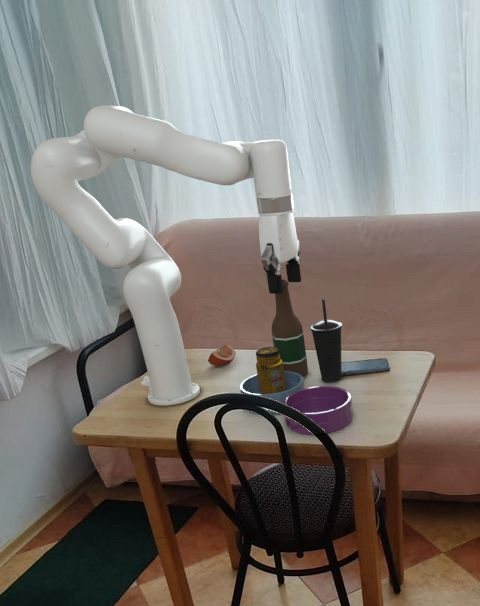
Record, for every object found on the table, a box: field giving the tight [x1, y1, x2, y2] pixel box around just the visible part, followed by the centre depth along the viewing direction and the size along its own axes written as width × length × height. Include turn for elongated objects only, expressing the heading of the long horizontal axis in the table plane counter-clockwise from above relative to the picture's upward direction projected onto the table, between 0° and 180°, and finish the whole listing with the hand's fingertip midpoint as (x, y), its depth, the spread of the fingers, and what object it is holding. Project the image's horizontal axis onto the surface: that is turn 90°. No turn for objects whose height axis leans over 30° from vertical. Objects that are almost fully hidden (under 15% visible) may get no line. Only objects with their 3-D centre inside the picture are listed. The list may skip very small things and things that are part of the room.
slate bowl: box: [239, 371, 305, 415], centre depth 146 cm, size 14×14×5 cm
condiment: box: [255, 346, 286, 394], centre depth 144 cm, size 7×8×12 cm
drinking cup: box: [309, 298, 343, 384], centre depth 152 cm, size 8×8×20 cm
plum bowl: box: [283, 385, 354, 436], centre depth 135 cm, size 14×14×5 cm
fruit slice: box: [207, 343, 236, 367], centre depth 170 cm, size 8×7×5 cm
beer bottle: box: [271, 279, 309, 379], centre depth 155 cm, size 8×8×24 cm
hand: (285, 287), depth 140 cm, fingers open, 9 cm apart
